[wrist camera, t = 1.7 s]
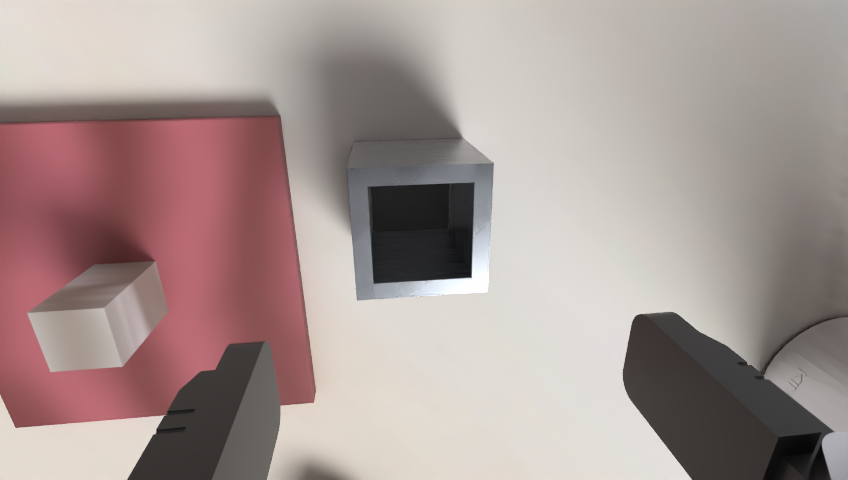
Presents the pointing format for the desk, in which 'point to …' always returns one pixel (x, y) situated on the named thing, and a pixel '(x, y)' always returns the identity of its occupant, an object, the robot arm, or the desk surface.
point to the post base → (149, 218)
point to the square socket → (422, 248)
